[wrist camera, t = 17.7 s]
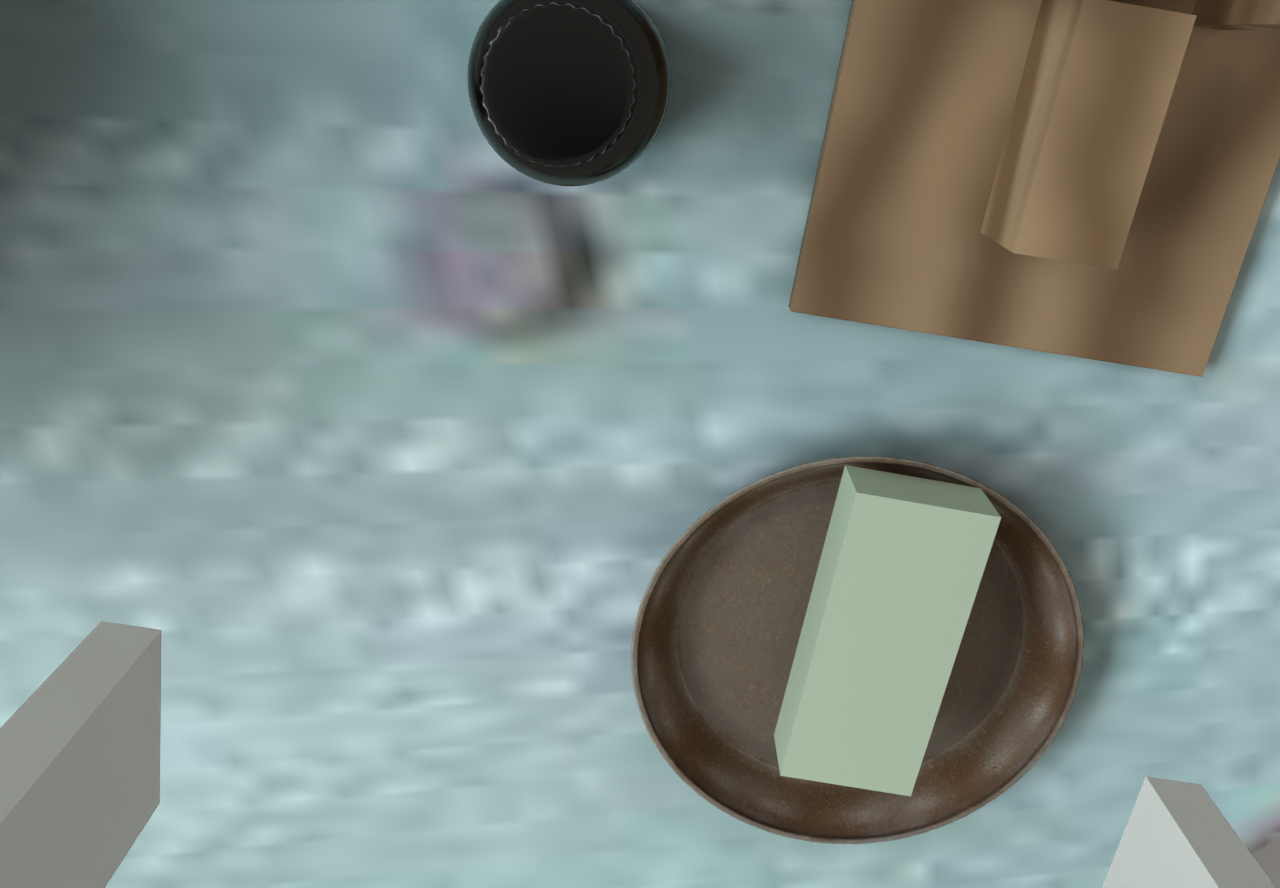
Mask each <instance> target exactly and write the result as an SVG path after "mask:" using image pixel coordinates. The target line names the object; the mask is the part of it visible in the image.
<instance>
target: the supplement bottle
mask: <svg viewBox="0 0 1280 888" xmlns="http://www.w3.org/2000/svg"><path fill="white" fill-rule="evenodd" d="M670 86H671V69H670V61H669V56H668V52H667V48H666V46H665V43H664V40H663V38H662V36H661V34H660V32H659V30H658V28H657V27H656V25H655V23H654V22H653V21H652V19H651V18H650V17H649V15H648V14H647V13H646V12H645V11H644V10H643V9H642V8H641V6H640V5H639V4H638V3H637V2H636V1H634V0H500V1H499V2H498V3H497V4H496V5H495V6H494V7H493V8H492V9H491V11H490V12H489V13H488V15H487V16H486V17H485V19H484V21H483V22H482V24H481V26H480V28H479V30H478V32H477V34H476V37H475V39H474V42H473V45H472V49H471V53H470V57H469V64H468V91H469V98H470V102H471V107H472V110H473V113H474V116H475V119H476V121H477V123H478V126H479V128H480V130H481V131H482V133H483V135H484V137H485V138H486V140H487V141H488V143H489V144H490V145H491V147H492V148H493V149H494V150H495V152H496V153H497V154H498V155H499V156H500V157H501V158H502V159H503V160H505V161H506V162H507V163H508V164H509V165H511V166H512V167H513V168H515V169H516V170H518V171H519V172H521V173H523V174H525V175H526V176H529V177H531V178H533V179H535V180H538V181H541V182H544V183H549V184H553V185H560V186H581V185H588V184H593V183H596V182H600V181H603V180H605V179H608V178H610V177H612V176H614V175H616V174H618V173H620V172H621V171H623V170H624V169H626V168H627V167H629V166H630V165H631V164H632V163H634V162H635V161H636V160H637V159H638V158H639V157H640V156H641V155H642V154H643V153H644V152H645V150H646V149H647V148H648V147H649V145H650V144H651V142H652V141H653V139H654V138H655V136H656V134H657V132H658V131H659V128H660V126H661V124H662V121H663V119H664V116H665V113H666V109H667V104H668V100H669V94H670Z"/></svg>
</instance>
